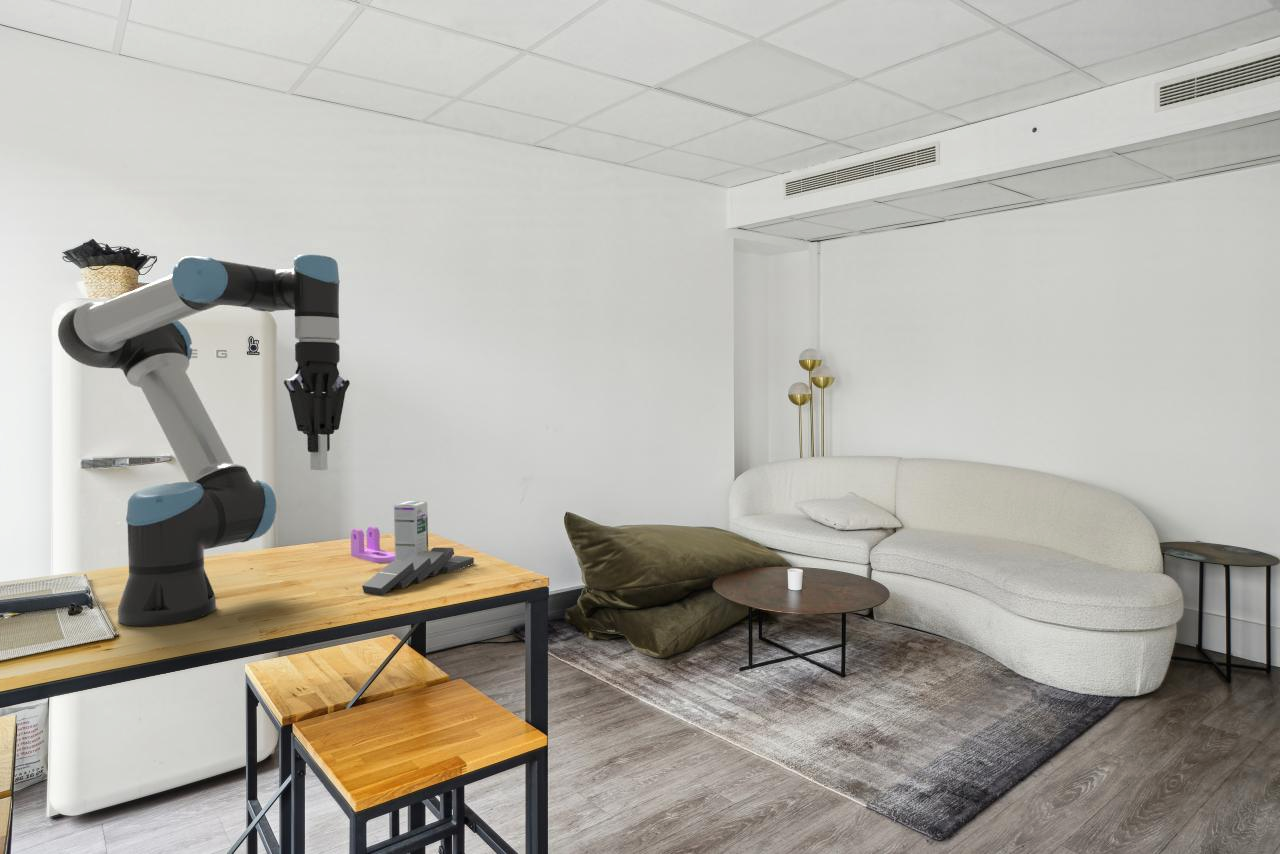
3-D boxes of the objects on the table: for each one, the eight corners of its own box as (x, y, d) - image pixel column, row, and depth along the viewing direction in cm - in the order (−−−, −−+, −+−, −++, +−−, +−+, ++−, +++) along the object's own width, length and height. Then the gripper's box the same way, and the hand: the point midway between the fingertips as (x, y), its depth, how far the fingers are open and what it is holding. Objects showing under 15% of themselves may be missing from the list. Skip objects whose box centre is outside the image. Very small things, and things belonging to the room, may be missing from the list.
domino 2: (381, 579, 159) (410, 555, 167) (383, 586, 159) (412, 561, 168) (401, 582, 157) (429, 557, 166) (403, 589, 158) (431, 563, 166)
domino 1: (361, 585, 154) (394, 559, 163) (363, 592, 155) (395, 566, 163) (381, 588, 152) (412, 562, 161) (383, 595, 153) (414, 569, 161)
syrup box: (417, 567, 176) (416, 505, 176) (393, 565, 178) (393, 503, 177) (428, 561, 182) (428, 501, 181) (406, 560, 183) (405, 500, 182)
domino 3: (398, 574, 163) (425, 550, 172) (400, 581, 164) (426, 556, 173) (417, 576, 162) (444, 552, 170) (419, 583, 162) (445, 558, 171)
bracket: (351, 556, 188) (350, 528, 187) (371, 552, 192) (371, 525, 191) (379, 564, 179) (379, 535, 179) (400, 560, 183) (400, 532, 183)
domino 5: (429, 564, 173) (456, 555, 182) (429, 572, 173) (456, 562, 182) (448, 567, 171) (473, 557, 180) (448, 574, 171) (473, 564, 180)
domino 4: (412, 569, 168) (433, 547, 177) (414, 575, 169) (434, 553, 178) (433, 569, 167) (453, 547, 176) (434, 576, 168) (454, 554, 177)
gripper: (331, 343, 147) (333, 465, 149) (272, 339, 136) (274, 471, 137) (360, 343, 144) (361, 467, 145) (301, 339, 132) (303, 474, 134)
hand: (319, 469), depth 141 cm, fingers closed
